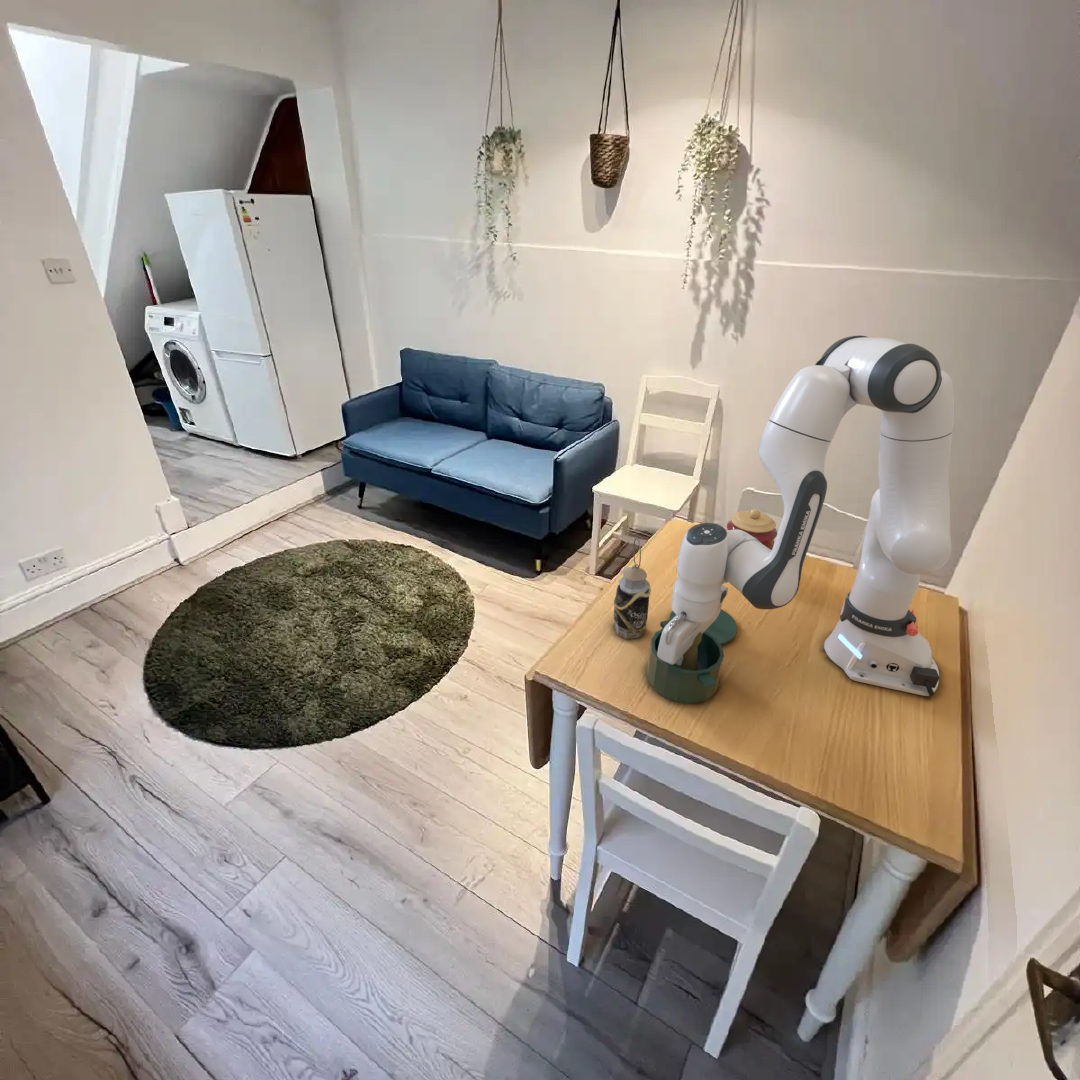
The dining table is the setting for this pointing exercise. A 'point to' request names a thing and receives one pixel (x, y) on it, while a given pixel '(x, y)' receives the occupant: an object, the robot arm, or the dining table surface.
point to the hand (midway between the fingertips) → (685, 654)
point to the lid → (720, 627)
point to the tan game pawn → (691, 655)
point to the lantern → (632, 601)
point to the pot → (686, 671)
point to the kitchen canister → (755, 526)
